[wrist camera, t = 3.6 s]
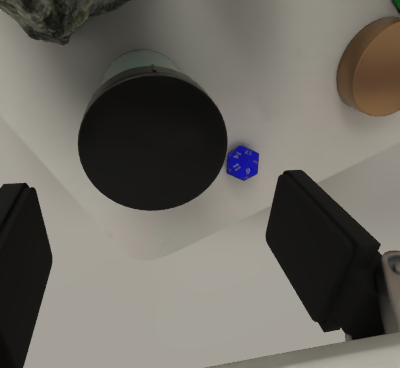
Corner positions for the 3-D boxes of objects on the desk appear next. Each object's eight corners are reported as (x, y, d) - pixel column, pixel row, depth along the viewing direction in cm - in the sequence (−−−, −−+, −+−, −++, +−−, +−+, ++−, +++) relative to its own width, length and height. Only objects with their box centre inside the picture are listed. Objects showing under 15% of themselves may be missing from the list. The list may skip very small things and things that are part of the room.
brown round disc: (353, 13, 21) (372, 15, 19) (432, 19, 23) (456, 21, 21) (326, 108, 25) (340, 116, 23) (395, 108, 26) (414, 116, 24)
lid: (72, 60, 13) (65, 69, 11) (223, 65, 14) (236, 74, 12) (91, 194, 16) (88, 215, 15) (211, 187, 17) (220, 206, 16)
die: (216, 166, 25) (222, 160, 23) (236, 144, 26) (244, 135, 23) (240, 188, 26) (249, 185, 23) (259, 165, 26) (271, 159, 23)
